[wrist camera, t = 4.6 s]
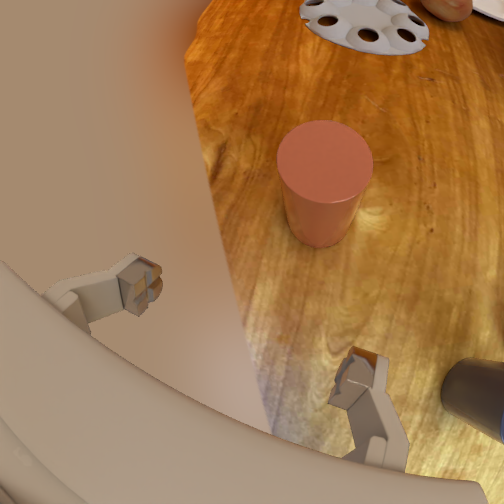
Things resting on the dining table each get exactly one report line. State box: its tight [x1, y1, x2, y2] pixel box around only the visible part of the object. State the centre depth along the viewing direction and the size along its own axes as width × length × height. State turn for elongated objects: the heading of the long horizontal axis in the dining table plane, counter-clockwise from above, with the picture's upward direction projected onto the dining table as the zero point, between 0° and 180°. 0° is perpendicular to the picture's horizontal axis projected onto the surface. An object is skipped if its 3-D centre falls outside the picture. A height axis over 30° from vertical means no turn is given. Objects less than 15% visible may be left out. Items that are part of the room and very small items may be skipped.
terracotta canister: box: [277, 120, 373, 248], centre depth 21 cm, size 6×6×10 cm
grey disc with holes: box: [300, 0, 429, 55], centre depth 30 cm, size 20×20×2 cm
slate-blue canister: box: [441, 357, 504, 445], centre depth 15 cm, size 6×6×10 cm
